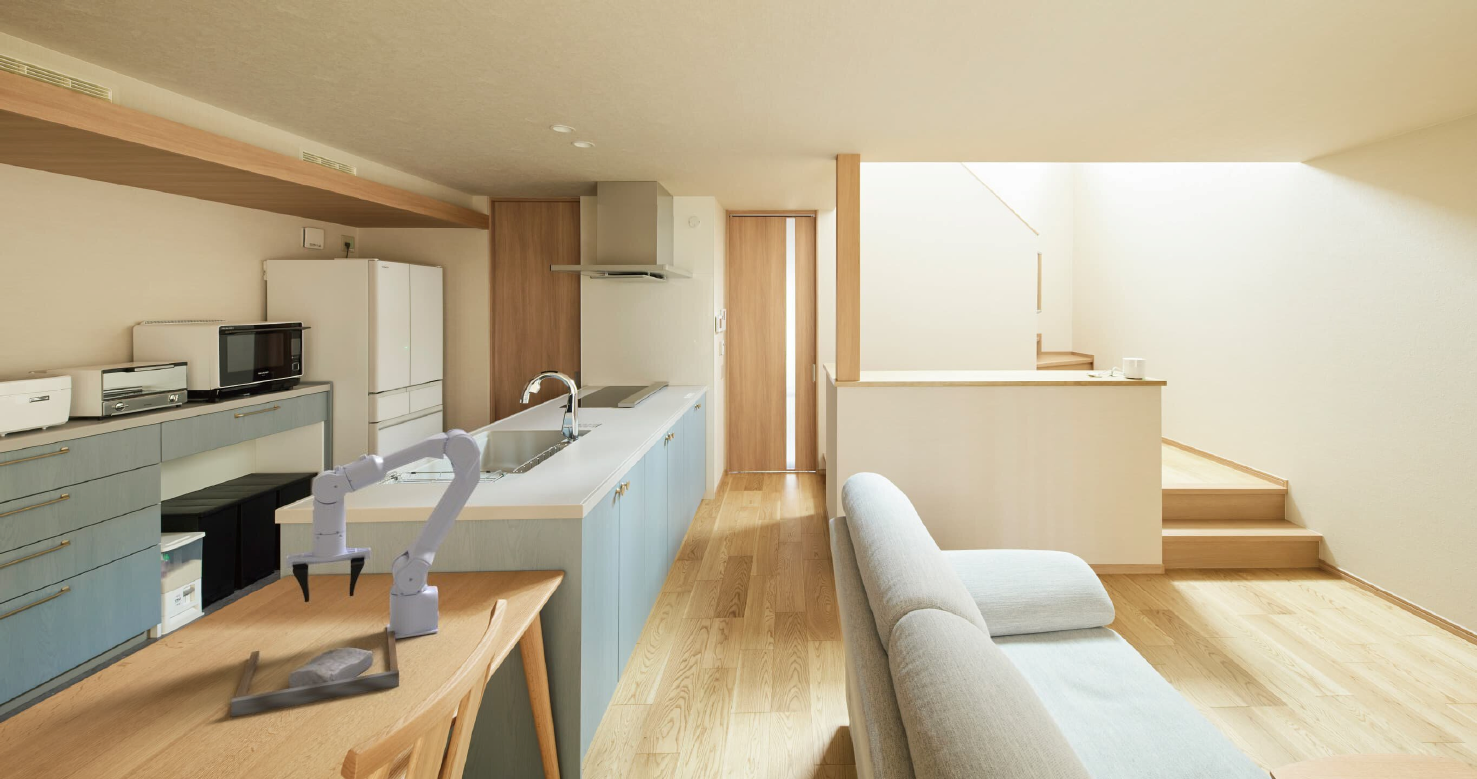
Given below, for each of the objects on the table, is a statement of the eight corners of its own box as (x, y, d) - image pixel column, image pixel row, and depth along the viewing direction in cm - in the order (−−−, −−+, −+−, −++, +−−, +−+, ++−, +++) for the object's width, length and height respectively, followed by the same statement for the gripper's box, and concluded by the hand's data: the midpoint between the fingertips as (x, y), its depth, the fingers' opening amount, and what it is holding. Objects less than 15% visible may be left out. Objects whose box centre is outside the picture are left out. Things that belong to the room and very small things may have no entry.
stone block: (282, 701, 119) (334, 695, 118) (278, 674, 119) (330, 668, 118) (331, 672, 131) (378, 666, 130) (327, 647, 131) (374, 641, 130)
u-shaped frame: (394, 636, 143) (394, 624, 142) (399, 686, 122) (399, 672, 122) (251, 657, 131) (251, 645, 131) (230, 717, 110) (230, 702, 110)
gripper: (369, 522, 144) (369, 586, 145) (287, 530, 137) (288, 596, 138) (370, 531, 138) (370, 597, 139) (285, 539, 131) (285, 608, 132)
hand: (329, 597), depth 138 cm, fingers open, 7 cm apart
